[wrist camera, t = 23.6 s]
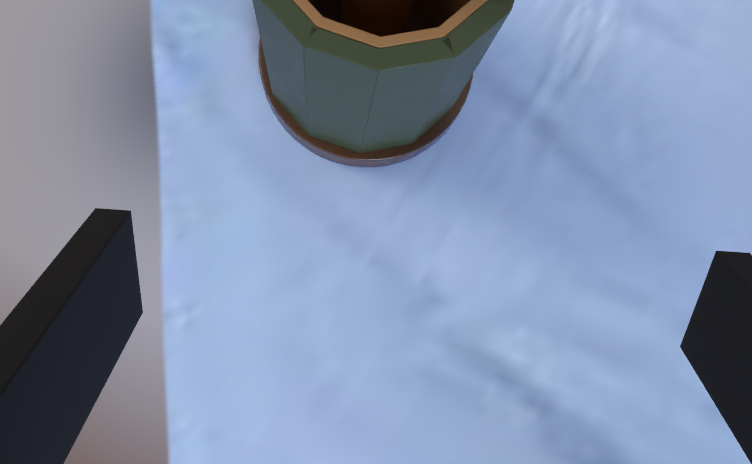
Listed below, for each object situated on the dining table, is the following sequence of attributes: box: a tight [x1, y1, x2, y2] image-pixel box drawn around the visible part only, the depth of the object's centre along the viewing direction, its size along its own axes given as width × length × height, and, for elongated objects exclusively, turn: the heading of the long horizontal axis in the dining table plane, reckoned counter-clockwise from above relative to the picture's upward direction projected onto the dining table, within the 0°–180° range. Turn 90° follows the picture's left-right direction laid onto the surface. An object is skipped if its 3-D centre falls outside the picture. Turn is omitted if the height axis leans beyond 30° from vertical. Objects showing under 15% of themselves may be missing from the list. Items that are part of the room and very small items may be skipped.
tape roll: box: [253, 0, 514, 153], centre depth 29 cm, size 10×10×11 cm
